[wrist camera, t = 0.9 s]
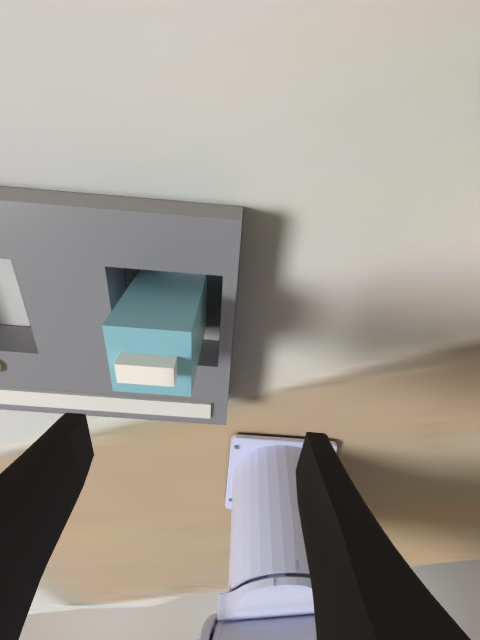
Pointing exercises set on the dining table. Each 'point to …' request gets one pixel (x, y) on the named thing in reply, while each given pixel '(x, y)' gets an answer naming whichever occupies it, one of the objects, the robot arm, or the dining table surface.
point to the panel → (106, 297)
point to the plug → (157, 333)
